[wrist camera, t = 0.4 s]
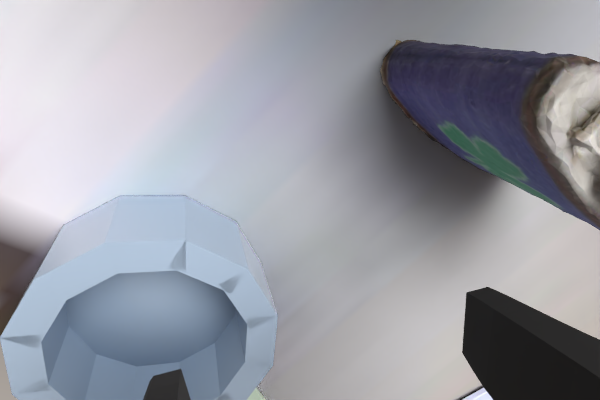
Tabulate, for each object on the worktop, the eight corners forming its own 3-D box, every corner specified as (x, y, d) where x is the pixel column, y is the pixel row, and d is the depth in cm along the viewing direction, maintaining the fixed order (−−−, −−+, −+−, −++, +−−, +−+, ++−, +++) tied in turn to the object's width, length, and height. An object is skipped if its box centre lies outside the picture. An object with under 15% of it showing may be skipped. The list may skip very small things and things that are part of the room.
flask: (528, 141, 22) (798, 244, 12) (488, 187, 22) (718, 320, 13) (405, 22, 18) (663, 37, 8) (362, 81, 18) (555, 160, 9)
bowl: (291, 311, 22) (311, 369, 19) (124, 401, 22) (113, 477, 18) (196, 156, 18) (199, 192, 14) (-15, 265, 17) (-66, 331, 14)
